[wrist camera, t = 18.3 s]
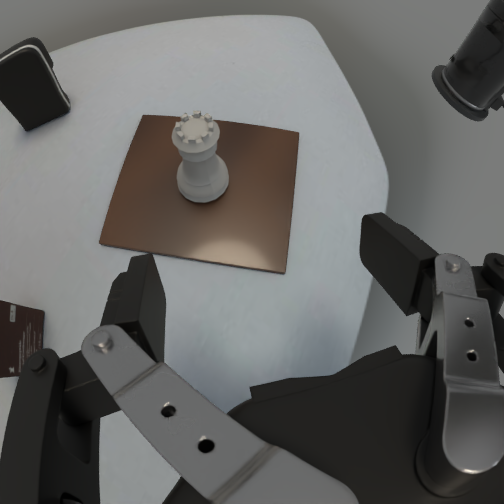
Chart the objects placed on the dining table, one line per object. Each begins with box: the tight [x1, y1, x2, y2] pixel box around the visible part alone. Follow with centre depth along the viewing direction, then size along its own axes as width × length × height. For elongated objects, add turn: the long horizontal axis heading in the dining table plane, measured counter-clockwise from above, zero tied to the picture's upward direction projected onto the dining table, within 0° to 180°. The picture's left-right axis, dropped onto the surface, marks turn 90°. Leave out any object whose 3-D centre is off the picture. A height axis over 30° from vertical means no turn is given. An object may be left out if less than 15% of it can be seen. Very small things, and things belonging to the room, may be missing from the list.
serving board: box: [99, 115, 299, 274], centre depth 26 cm, size 16×14×1 cm
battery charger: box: [0, 37, 70, 131], centre depth 23 cm, size 7×4×11 cm, turn 107°
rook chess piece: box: [172, 111, 229, 203], centre depth 22 cm, size 4×4×8 cm
